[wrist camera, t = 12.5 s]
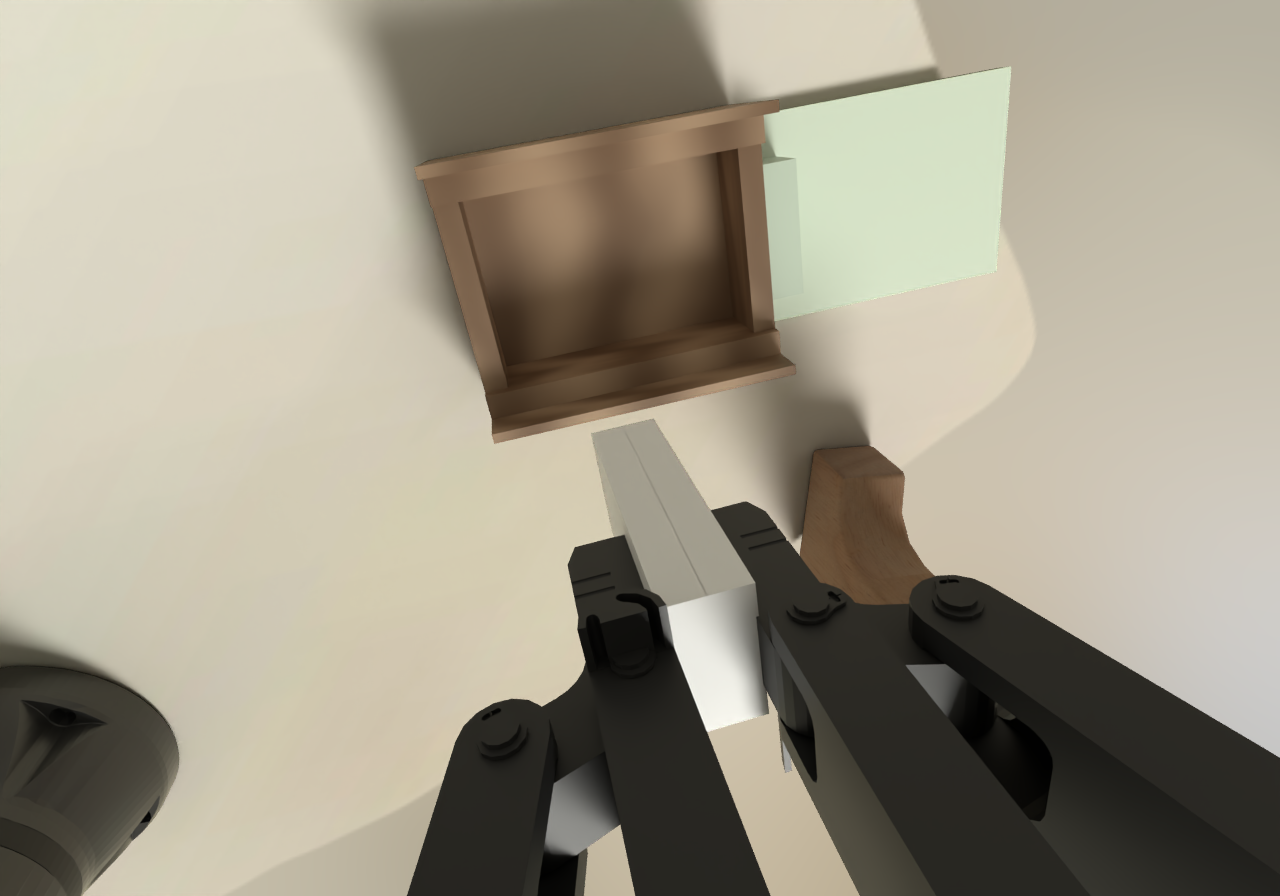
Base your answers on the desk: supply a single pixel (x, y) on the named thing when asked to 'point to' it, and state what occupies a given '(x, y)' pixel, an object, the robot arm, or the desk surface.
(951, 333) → the desk surface
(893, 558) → the wooden block
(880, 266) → the lid
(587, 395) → the box
